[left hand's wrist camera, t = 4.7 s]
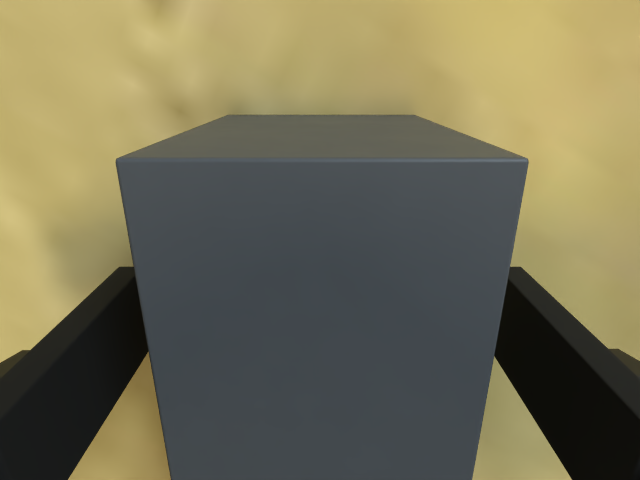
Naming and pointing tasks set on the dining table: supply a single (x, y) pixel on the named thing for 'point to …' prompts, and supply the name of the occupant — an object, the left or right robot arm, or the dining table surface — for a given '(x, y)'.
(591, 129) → the dining table surface
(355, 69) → the dining table surface
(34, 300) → the dining table surface
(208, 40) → the dining table surface
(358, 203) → the beam
